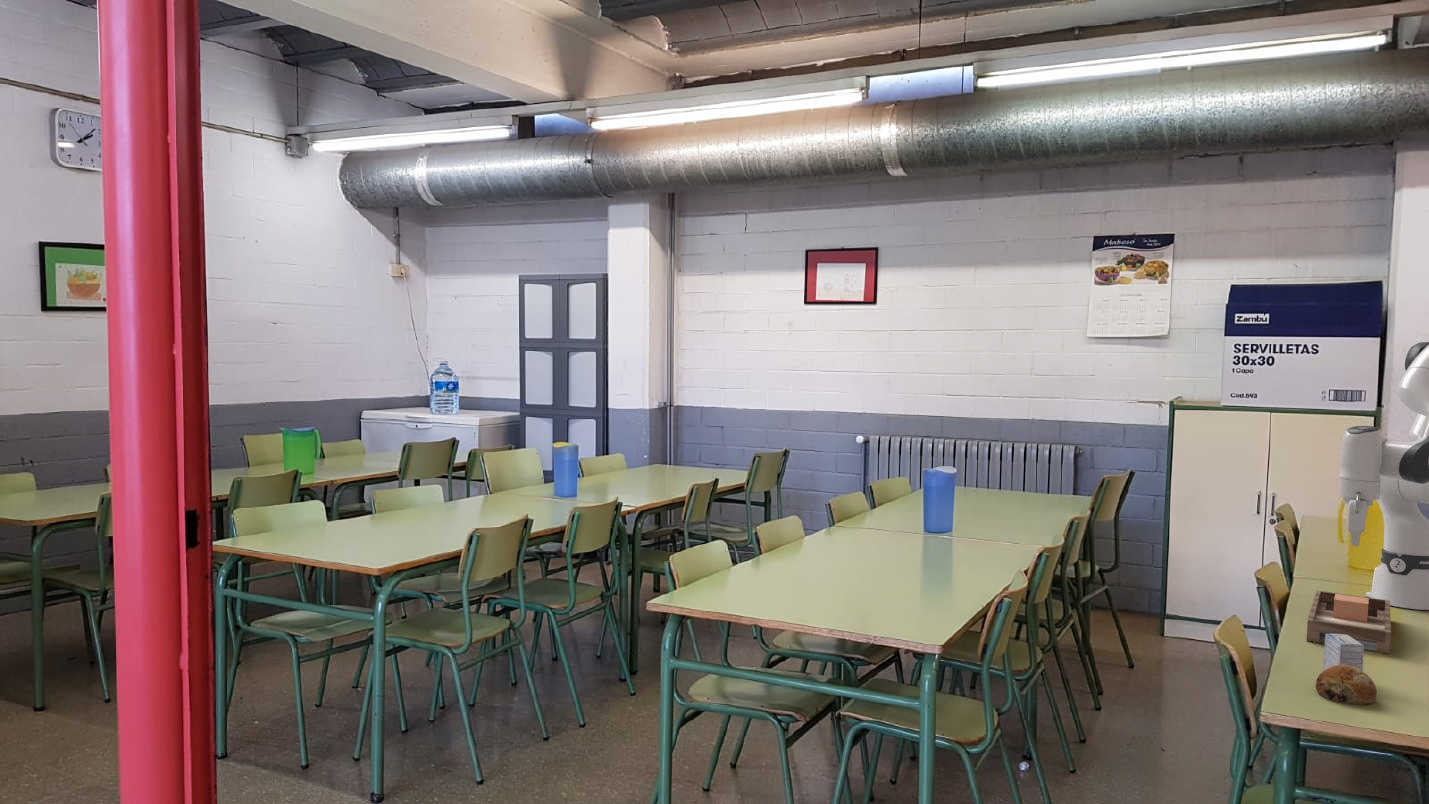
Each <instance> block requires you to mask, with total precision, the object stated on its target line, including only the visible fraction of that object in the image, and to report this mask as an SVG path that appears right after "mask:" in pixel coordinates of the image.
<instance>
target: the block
mask: <svg viewBox="0 0 1429 804" xmlns="http://www.w3.org/2000/svg"><path fill="white" fill-rule="evenodd" d="M1340 594H1341V593H1338V594H1335V598H1334V610H1333V618H1340V619H1347V620H1354V621H1360V622H1367V617H1368V602H1369V598H1370V597H1368V598H1362V597H1363V596H1360V597H1355V596H1356V595H1353V596H1348V595H1349V594H1346V595H1340Z"/></svg>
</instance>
